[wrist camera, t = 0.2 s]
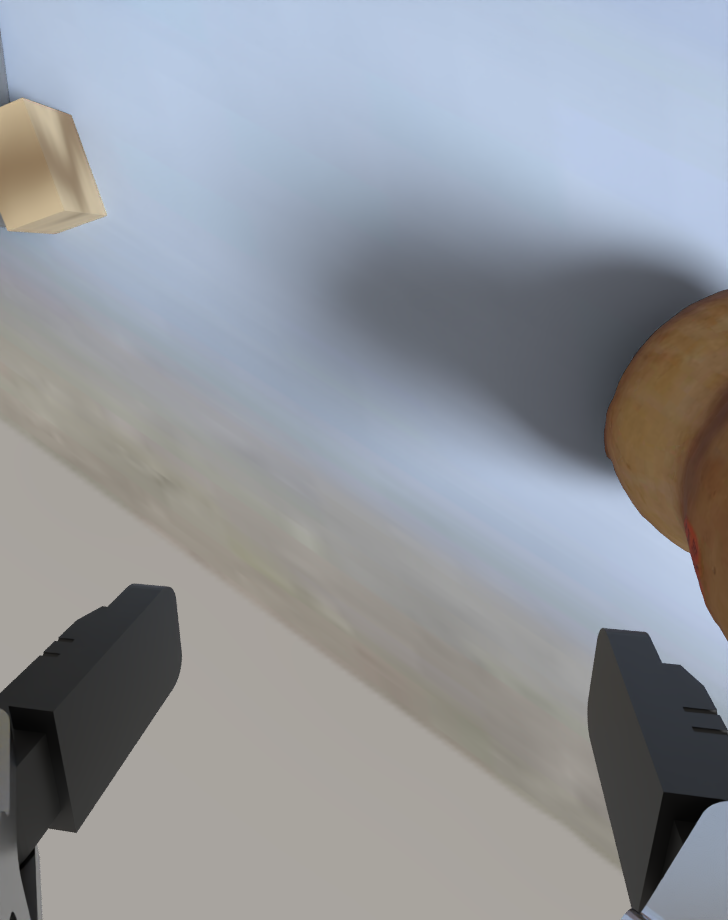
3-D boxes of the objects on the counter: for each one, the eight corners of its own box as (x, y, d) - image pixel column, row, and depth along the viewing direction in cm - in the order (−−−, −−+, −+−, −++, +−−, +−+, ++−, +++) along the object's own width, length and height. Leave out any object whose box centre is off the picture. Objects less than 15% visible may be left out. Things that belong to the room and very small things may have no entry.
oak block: (19, 136, 39) (-36, 122, 35) (72, 115, 38) (22, 97, 34) (56, 234, 41) (7, 231, 37) (108, 215, 40) (64, 210, 36)
